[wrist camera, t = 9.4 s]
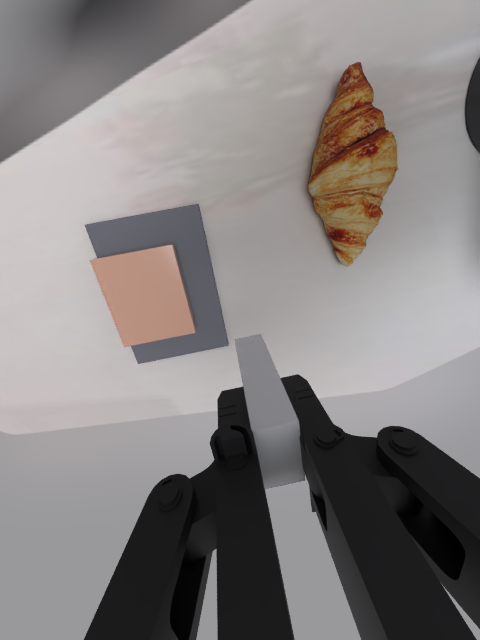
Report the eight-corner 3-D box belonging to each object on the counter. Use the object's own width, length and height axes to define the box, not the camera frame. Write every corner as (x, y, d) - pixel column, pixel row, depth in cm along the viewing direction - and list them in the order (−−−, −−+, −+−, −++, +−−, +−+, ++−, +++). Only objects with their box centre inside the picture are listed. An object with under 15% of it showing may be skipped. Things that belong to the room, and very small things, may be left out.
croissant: (348, 256, 39) (402, 258, 33) (304, 273, 35) (357, 279, 28) (348, 86, 31) (421, 45, 24) (291, 79, 26) (361, 25, 20)
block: (171, 244, 30) (89, 260, 29) (195, 332, 34) (124, 347, 34) (174, 243, 32) (97, 258, 31) (196, 327, 36) (128, 340, 36)
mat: (198, 204, 31) (197, 204, 30) (228, 343, 38) (228, 345, 38) (87, 224, 31) (84, 224, 30) (139, 361, 38) (138, 363, 37)
